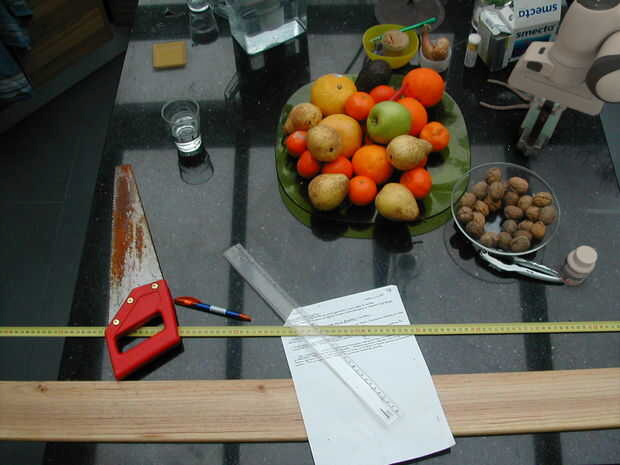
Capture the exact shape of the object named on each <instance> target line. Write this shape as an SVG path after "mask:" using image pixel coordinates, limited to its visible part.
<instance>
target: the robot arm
mask: <svg viewBox="0 0 620 465" xmlns="http://www.w3.org/2000/svg"><path fill="white" fill-rule="evenodd" d="M507 84H508V85H509V86H510V87H513V88H515V89H516V90H518V91H522V92H524V93H527V94H529V95H533V98H534V100H535V104H536V106H535V108H534V109H535V110H538V111H540V110H541V109H542V107H543V105H544V102H545V101H542V100H541V98H544V99H547V100H550V101H552V102H555V103H558V104H560V105H558V106H556V105H554V106H553V108H552V111H551V113H550V115H552V116H555V117H556V116H557V114H558V112H561V111H563V112H564V111H565V110H566V109H567V108H570V109H571V110H572V109H573V110H575V111H578V112H581V113H583V114H587V115H589V116H594V117H595V116H598V115H599V114H600V113H601V111H602V109H603V107H604V104H609V105H610V104H611V105H620V0H573V2H572V3H571V4H570V6H569V8H568V10H567V11H566V13H565V15H564V18H562V21H561V23H560V26H559V28H558V32H557V38H556V39H555V40H554V41H532V42H531V43H530V44H529V46H528V48H526V51H525V52H524V53H523V54H522V55H521V56H520V57H519V59H518V60H517V62H516V64H515V66H514V68H513V69H512V71H511V72H510V75H509V76H508V79H507Z"/></svg>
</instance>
